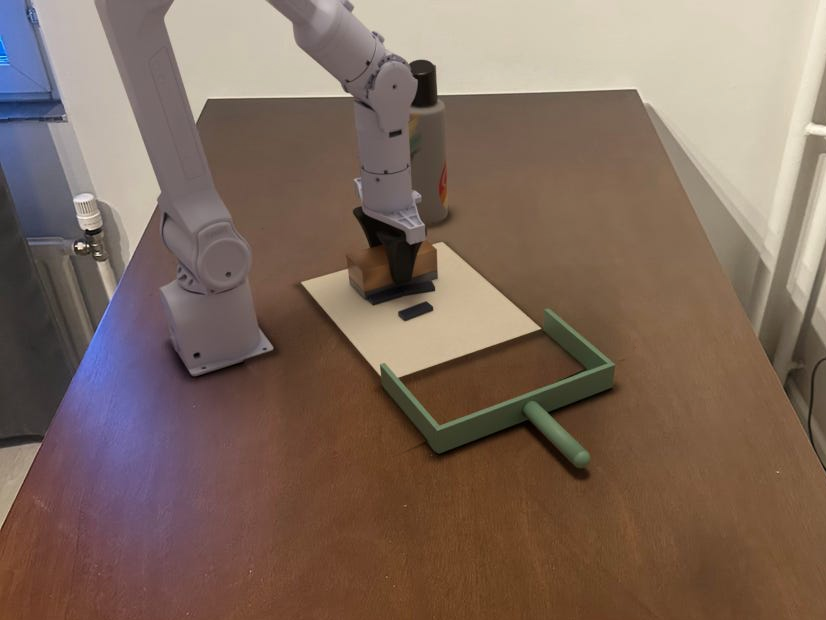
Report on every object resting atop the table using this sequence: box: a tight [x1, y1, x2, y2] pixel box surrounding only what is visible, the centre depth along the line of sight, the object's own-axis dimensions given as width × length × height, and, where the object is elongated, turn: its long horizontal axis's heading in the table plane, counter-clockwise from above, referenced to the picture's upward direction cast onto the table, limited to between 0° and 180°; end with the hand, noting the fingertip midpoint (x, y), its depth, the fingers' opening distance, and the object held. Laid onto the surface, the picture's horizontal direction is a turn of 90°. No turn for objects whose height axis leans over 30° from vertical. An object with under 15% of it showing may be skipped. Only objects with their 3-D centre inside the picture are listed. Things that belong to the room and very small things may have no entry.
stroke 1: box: [368, 287, 403, 306], centre depth 107 cm, size 4×2×1 cm, turn 121°
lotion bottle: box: [408, 59, 449, 224], centre depth 116 cm, size 6×6×20 cm
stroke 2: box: [400, 281, 435, 296], centre depth 108 cm, size 4×2×1 cm, turn 107°
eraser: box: [346, 239, 438, 300], centre depth 109 cm, size 10×4×4 cm, turn 121°
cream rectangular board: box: [300, 241, 542, 379], centre depth 106 cm, size 20×24×1 cm
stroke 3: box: [398, 301, 433, 321], centre depth 105 cm, size 4×2×1 cm, turn 126°
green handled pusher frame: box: [380, 307, 616, 469], centre depth 91 cm, size 22×21×3 cm
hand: (393, 272), depth 109 cm, fingers closed on eraser, 4 cm apart
